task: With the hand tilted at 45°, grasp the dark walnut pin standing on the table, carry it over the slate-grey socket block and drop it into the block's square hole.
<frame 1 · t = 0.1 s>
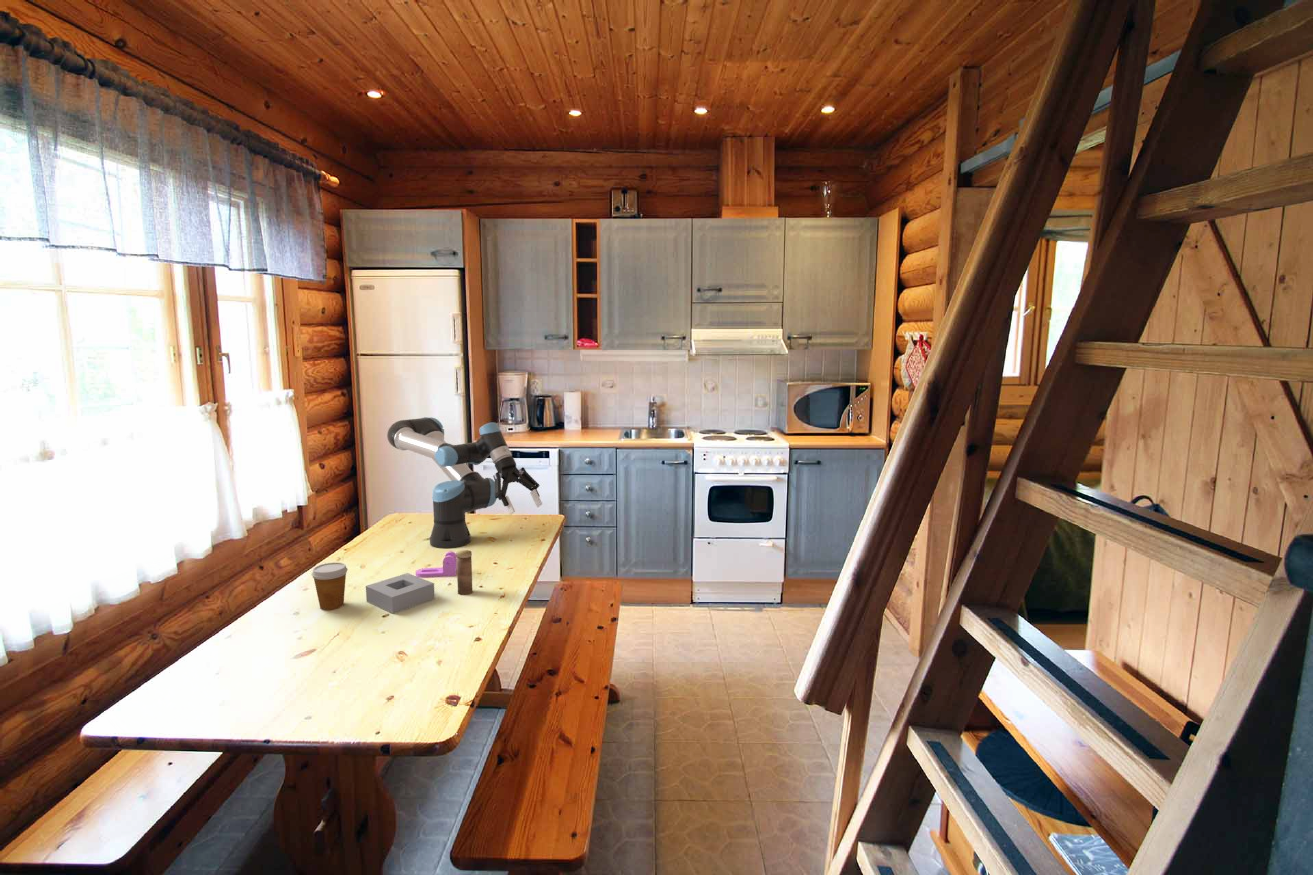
hand: (526, 509, 248), 15 cm above the table, tool tilted 35°, fingers open, 13 cm apart
disposable coffee cup: (332, 606, 196), on the table
bracket: (436, 574, 223), on the table
walnut pin: (465, 592, 207), on the table
socket block: (400, 600, 201), on the table
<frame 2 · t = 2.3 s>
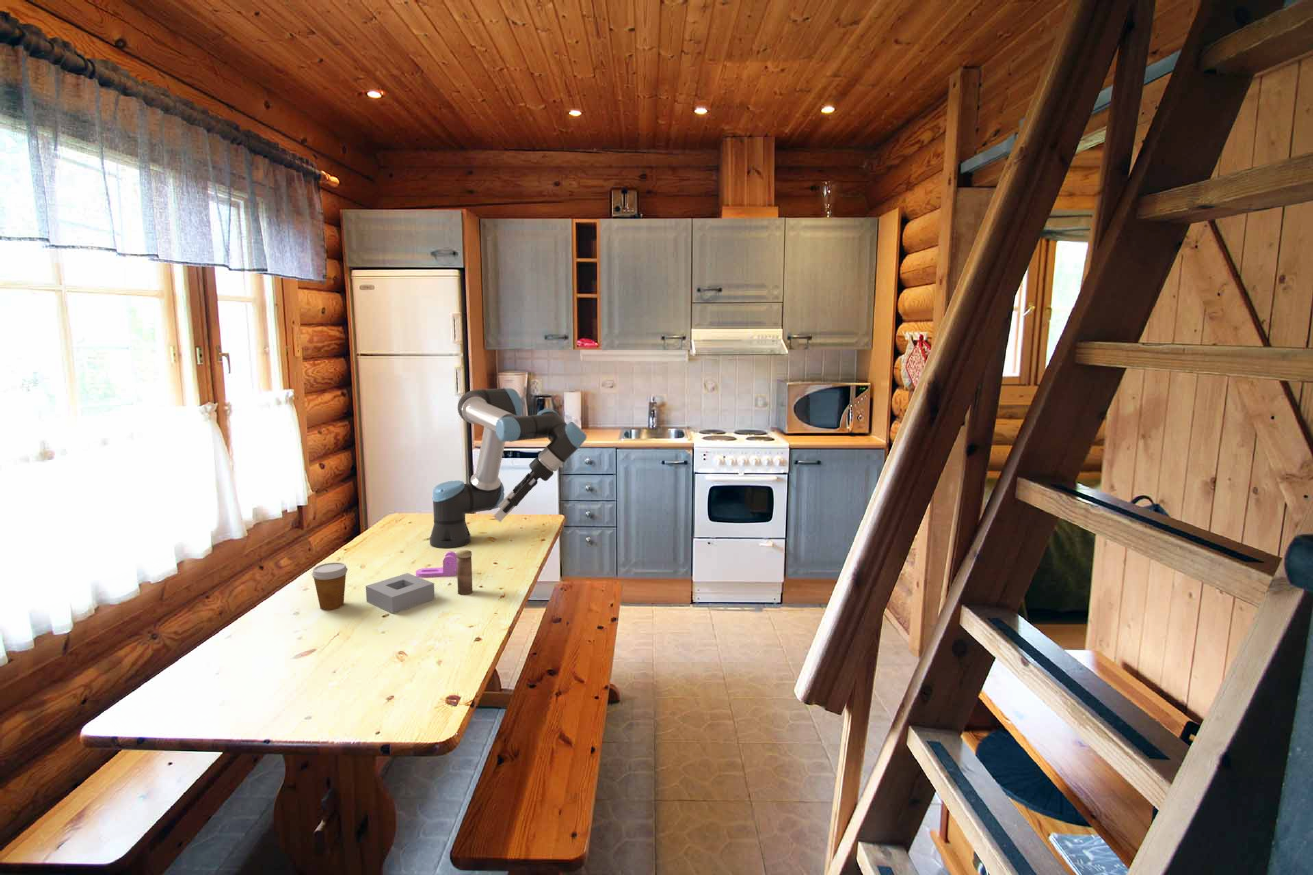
hand: (498, 513, 206), 25 cm above the table, tool tilted 45°, fingers open, 13 cm apart
nothing on the table moved.
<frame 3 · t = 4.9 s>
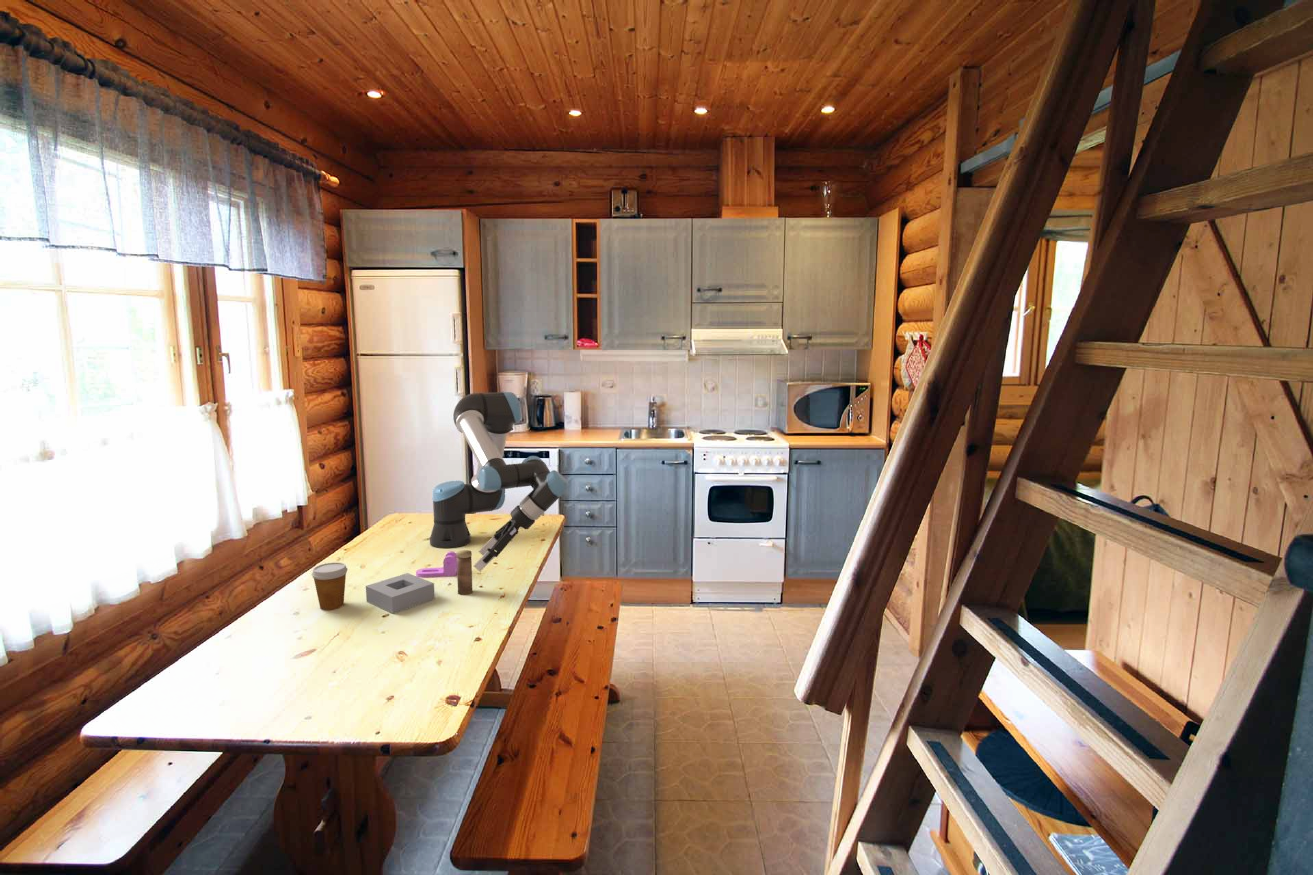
hand: (479, 561, 205), 10 cm above the table, tool tilted 45°, fingers open, 13 cm apart
nothing on the table moved.
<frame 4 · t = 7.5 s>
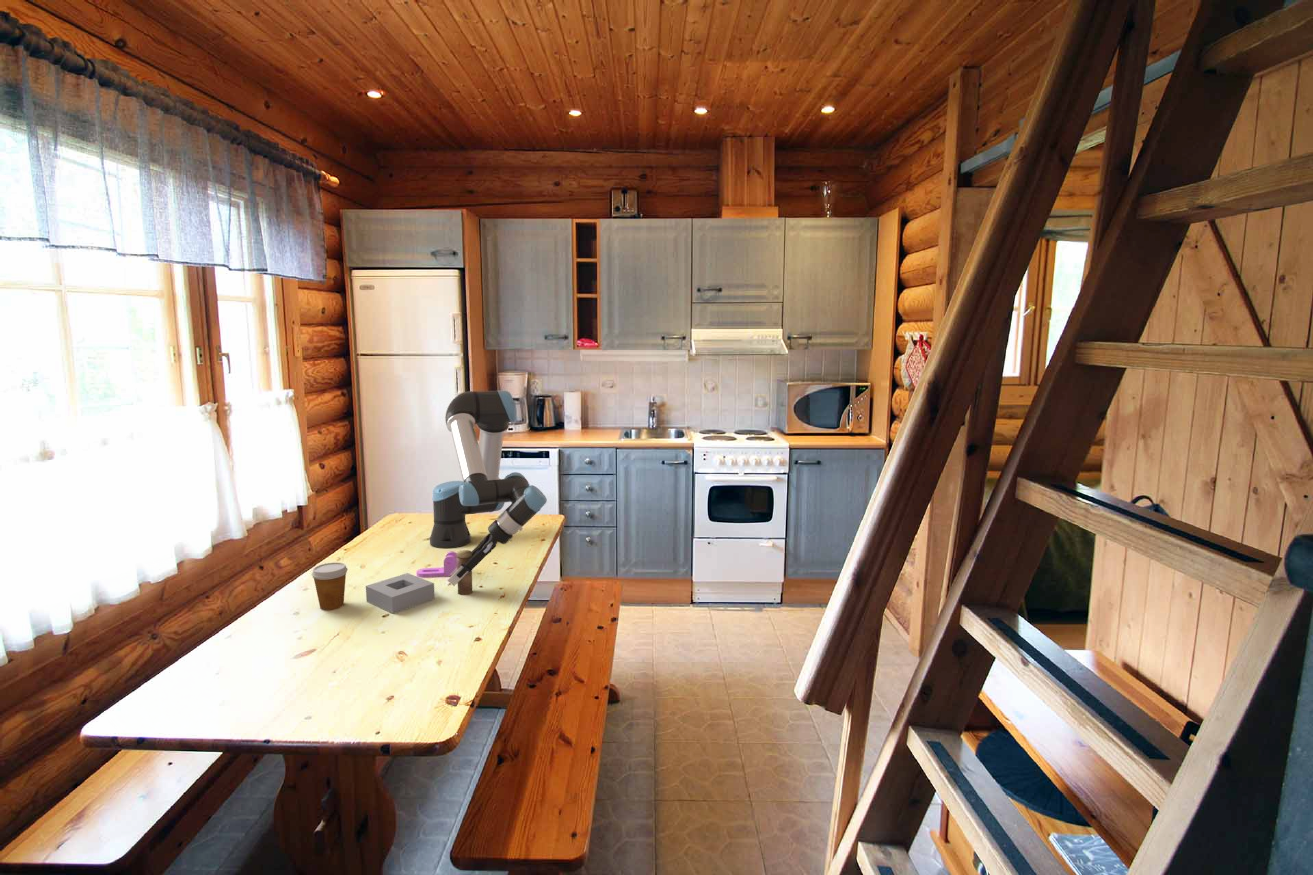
hand: (452, 579, 206), 4 cm above the table, tool tilted 45°, fingers closed on walnut pin, 4 cm apart
walnut pin: (465, 592, 207), on the table, touching gripper
everything else where it was.
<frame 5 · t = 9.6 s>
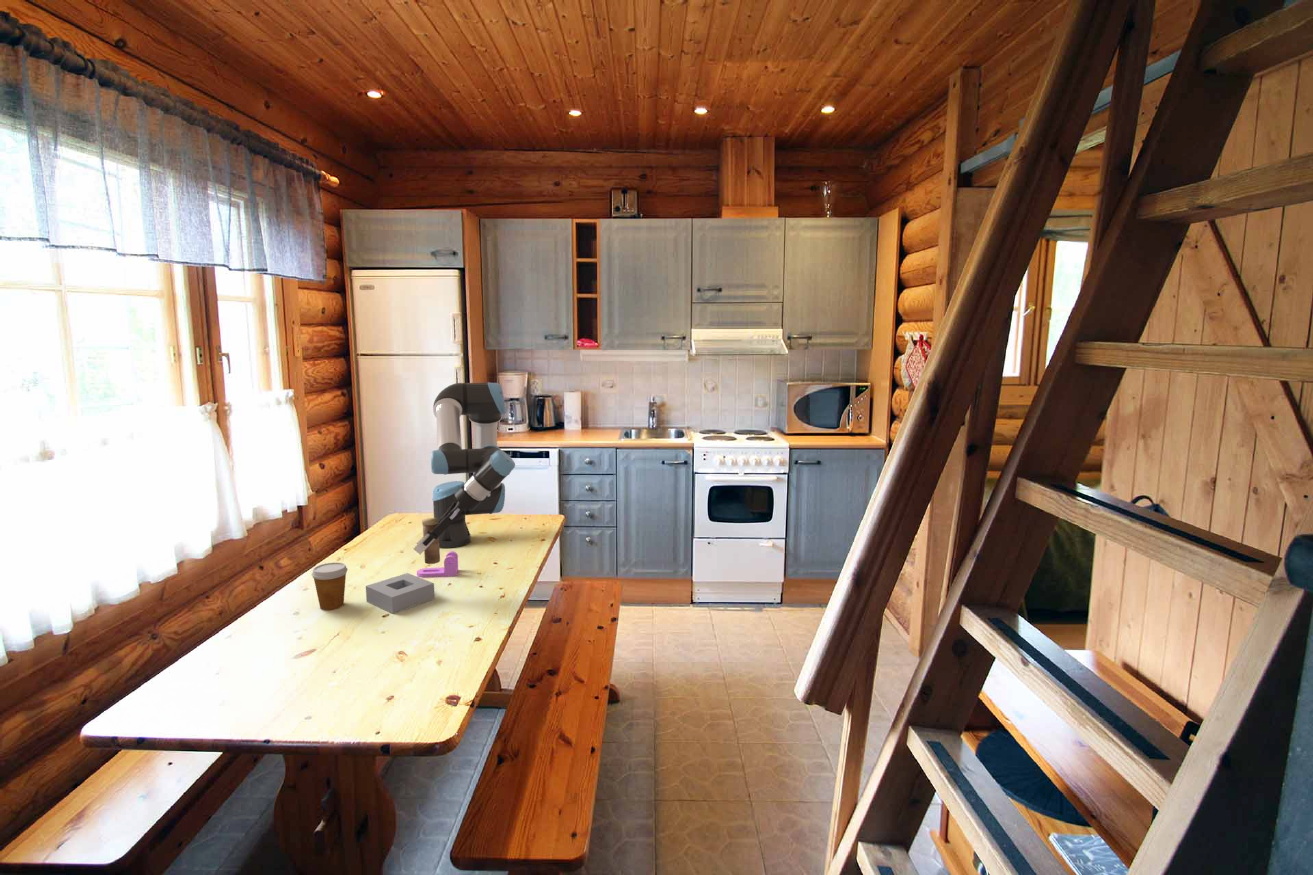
hand: (418, 548, 200), 16 cm above the table, tool tilted 45°, fingers closed on walnut pin, 4 cm apart
walnut pin: (432, 561, 201), point 12 cm above the table, touching gripper
everything else where it was.
when the fingers open (8 cm above the table, at t = 11.9 s): walnut pin drops 4 cm, resting in socket block.
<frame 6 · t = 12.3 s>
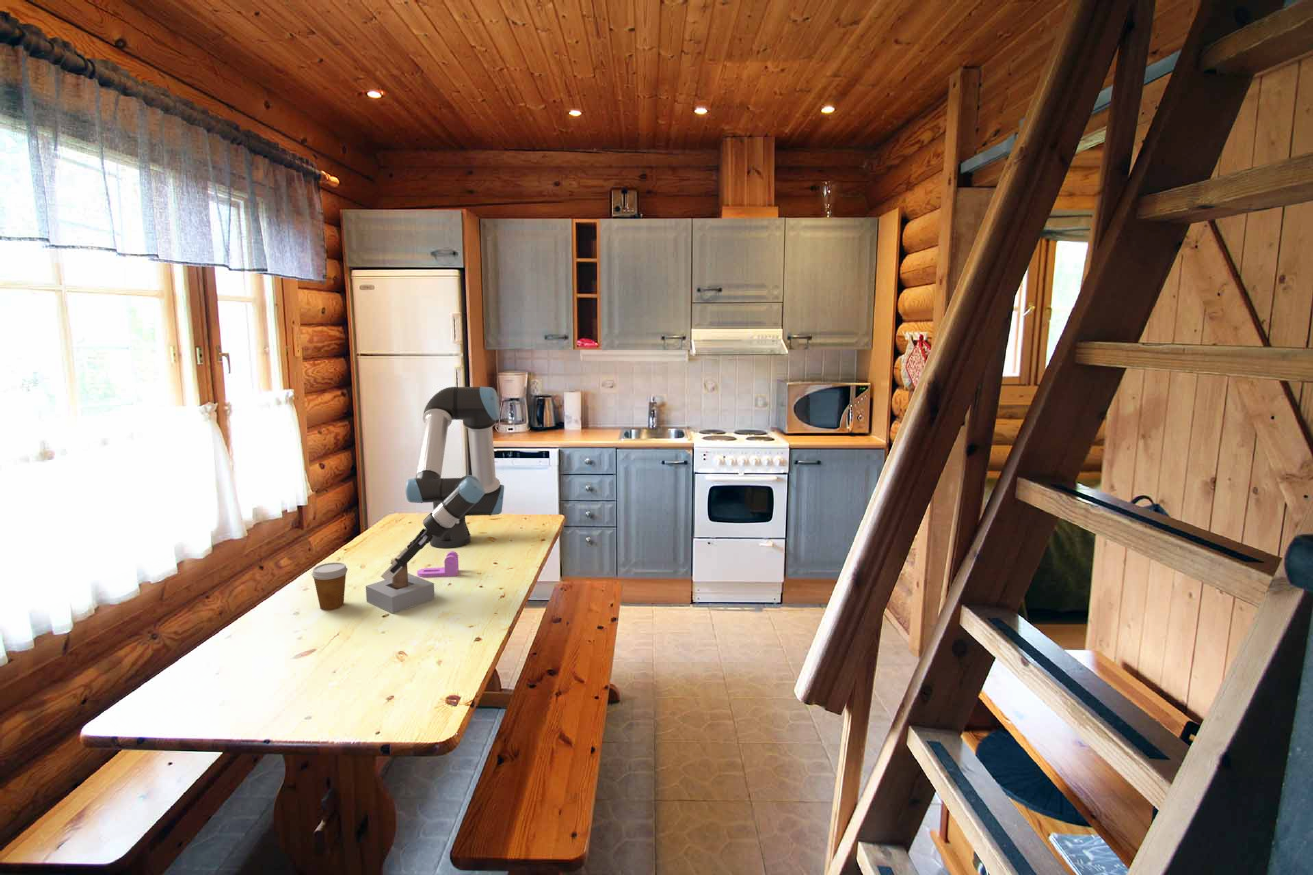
hand: (389, 571, 199), 9 cm above the table, tool tilted 45°, fingers open, 10 cm apart
walnut pin: (401, 600, 201), resting in socket block
everything else where it was.
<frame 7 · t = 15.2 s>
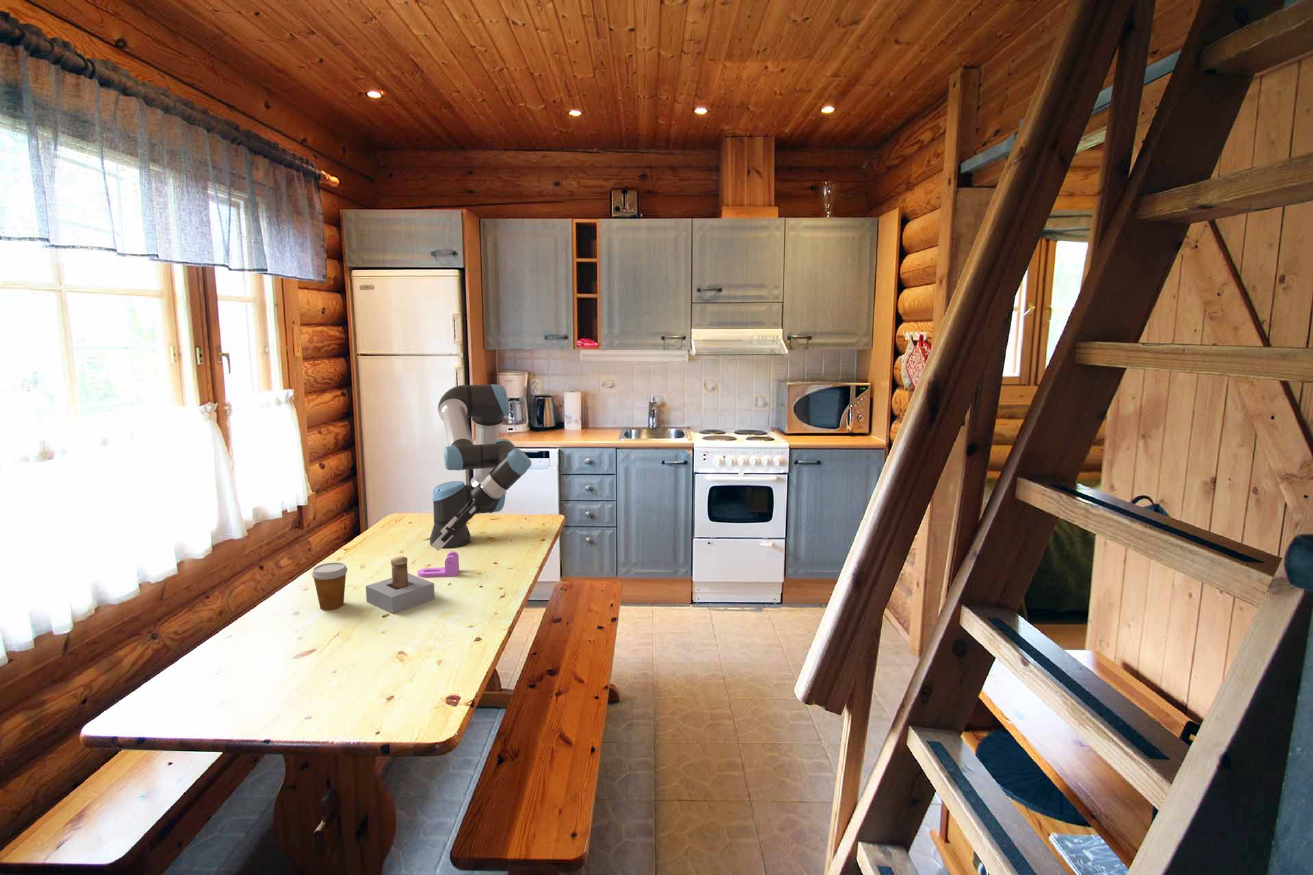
hand: (439, 540, 200), 18 cm above the table, tool tilted 45°, fingers open, 13 cm apart
nothing on the table moved.
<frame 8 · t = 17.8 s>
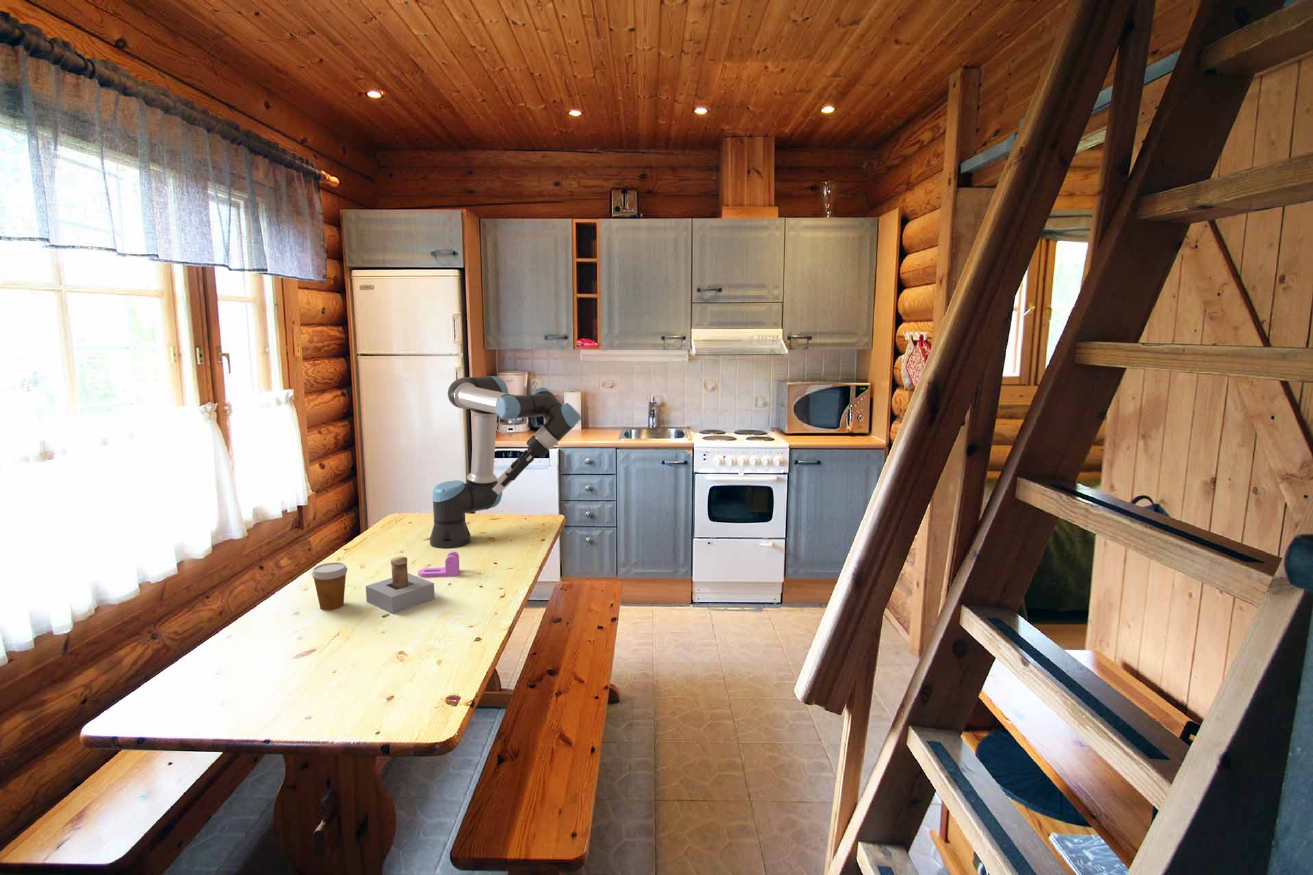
hand: (497, 487, 221), 30 cm above the table, tool tilted 45°, fingers open, 13 cm apart
nothing on the table moved.
at the end: walnut pin 0.1 cm off-centre on the socket block, point 0.0 cm above the socket block's base; walnut pin tilted 0°; the gripper is holding nothing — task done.
